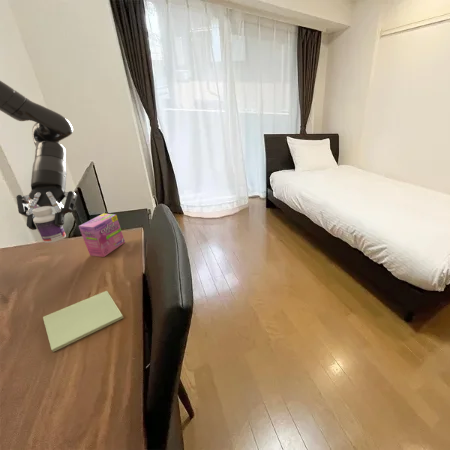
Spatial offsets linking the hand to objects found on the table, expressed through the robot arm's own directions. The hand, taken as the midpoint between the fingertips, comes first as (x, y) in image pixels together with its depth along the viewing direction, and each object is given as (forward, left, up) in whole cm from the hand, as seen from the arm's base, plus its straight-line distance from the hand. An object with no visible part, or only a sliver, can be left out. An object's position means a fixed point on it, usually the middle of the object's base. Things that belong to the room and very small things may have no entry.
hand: (45, 227), depth 77 cm
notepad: (-1, -25, -17) cm, 30 cm away
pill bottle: (+1, +2, -5) cm, 5 cm away
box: (+13, +9, -17) cm, 24 cm away
